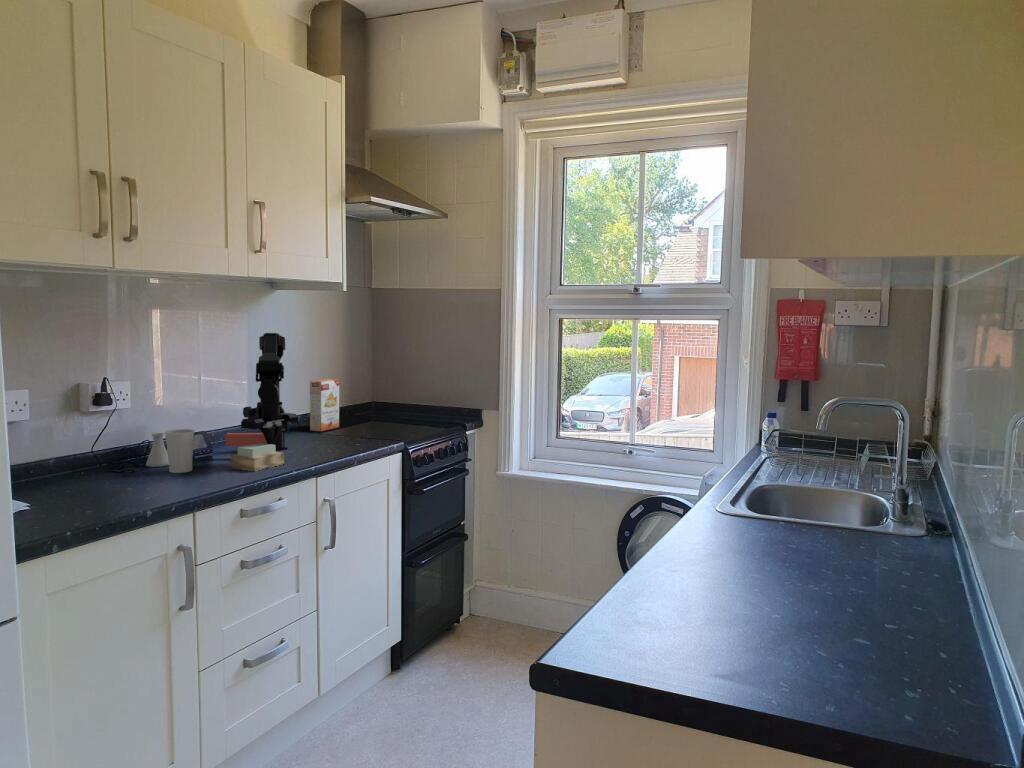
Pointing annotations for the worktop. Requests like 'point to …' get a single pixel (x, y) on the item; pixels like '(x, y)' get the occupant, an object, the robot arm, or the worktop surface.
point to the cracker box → (324, 405)
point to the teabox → (257, 461)
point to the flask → (158, 452)
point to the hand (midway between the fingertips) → (270, 447)
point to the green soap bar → (256, 450)
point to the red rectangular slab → (244, 439)
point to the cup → (180, 450)
